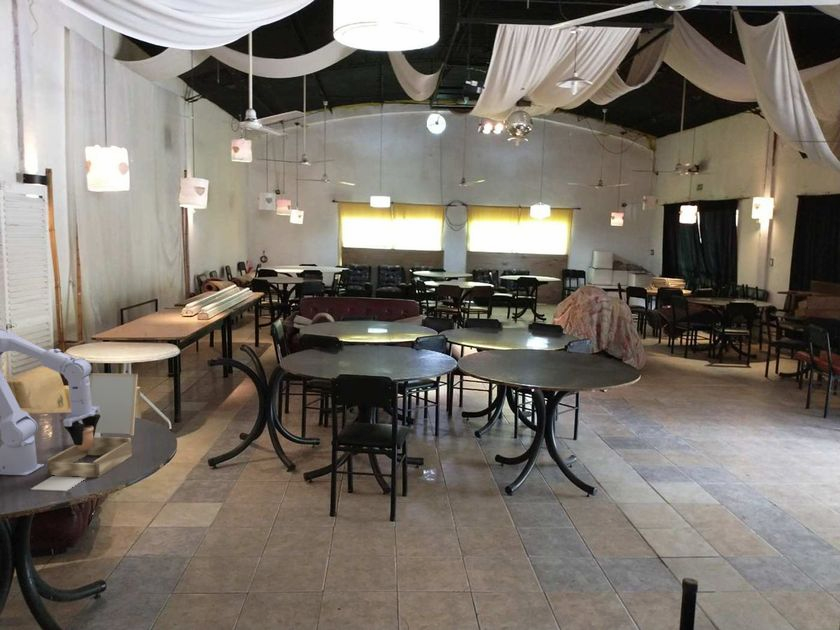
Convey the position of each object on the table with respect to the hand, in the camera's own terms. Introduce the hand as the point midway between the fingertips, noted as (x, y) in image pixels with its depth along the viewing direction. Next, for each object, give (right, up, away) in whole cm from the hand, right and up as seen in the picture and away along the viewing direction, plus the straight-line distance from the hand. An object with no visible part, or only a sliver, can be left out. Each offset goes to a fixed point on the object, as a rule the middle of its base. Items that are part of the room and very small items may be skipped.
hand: (84, 441), depth 196 cm
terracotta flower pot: (0, -2, 0) cm, 2 cm away
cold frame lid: (+2, +10, +13) cm, 16 cm away
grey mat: (-2, -10, -11) cm, 15 cm away
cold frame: (0, -8, +4) cm, 9 cm away
